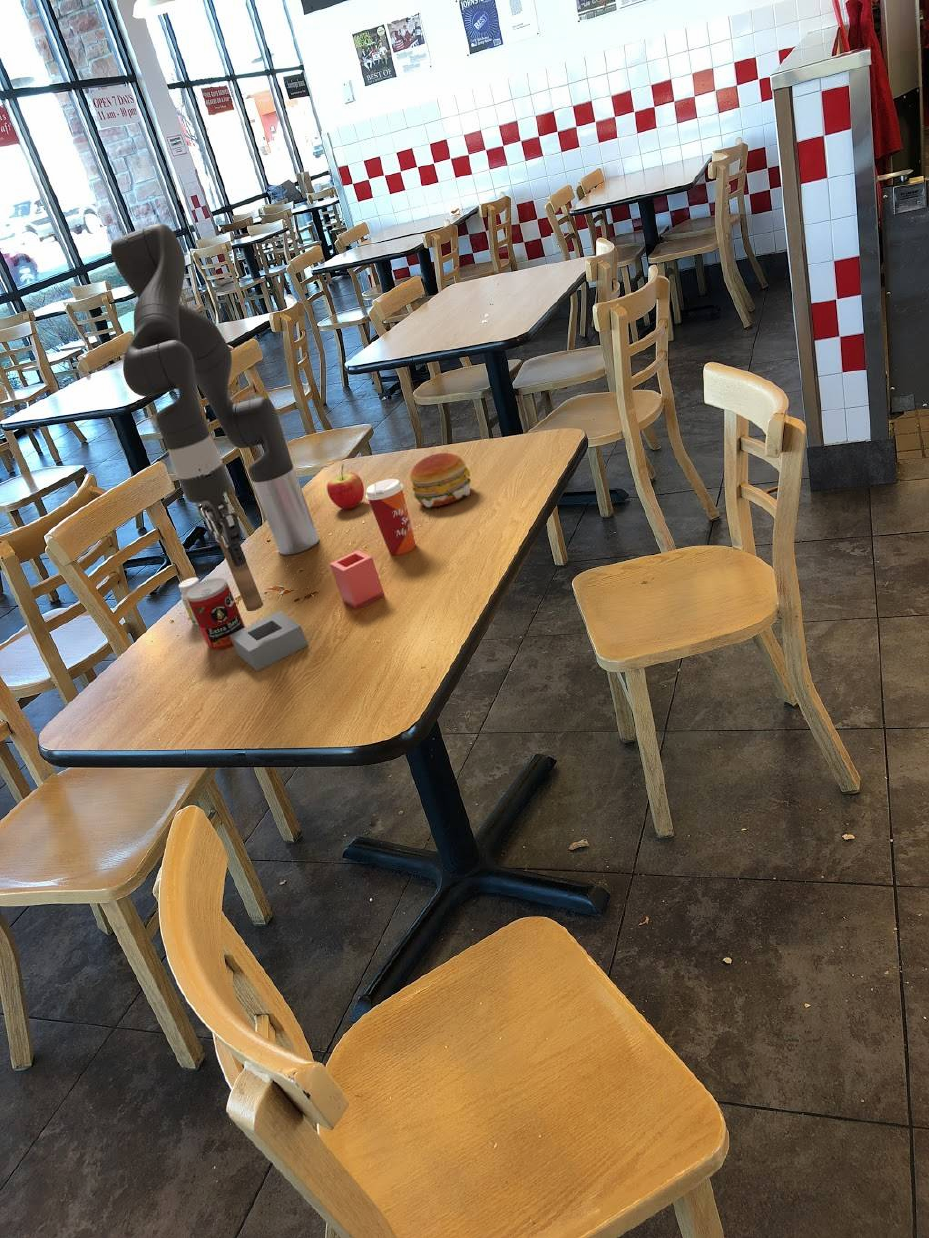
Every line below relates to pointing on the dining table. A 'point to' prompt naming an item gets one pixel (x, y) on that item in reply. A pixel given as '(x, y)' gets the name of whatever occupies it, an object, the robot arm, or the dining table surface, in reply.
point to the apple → (346, 490)
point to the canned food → (215, 612)
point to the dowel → (243, 581)
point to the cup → (357, 579)
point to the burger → (440, 479)
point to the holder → (268, 640)
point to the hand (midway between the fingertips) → (236, 561)
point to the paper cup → (392, 515)
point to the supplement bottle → (184, 588)
